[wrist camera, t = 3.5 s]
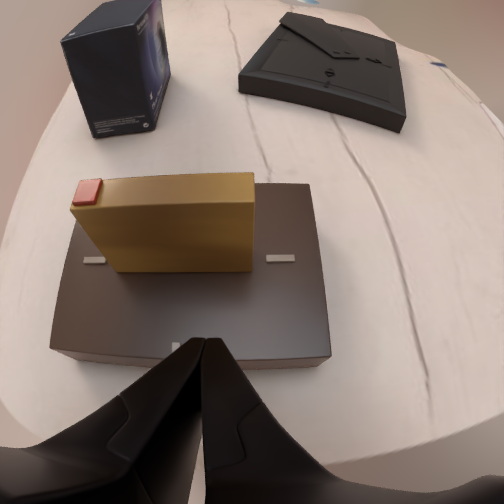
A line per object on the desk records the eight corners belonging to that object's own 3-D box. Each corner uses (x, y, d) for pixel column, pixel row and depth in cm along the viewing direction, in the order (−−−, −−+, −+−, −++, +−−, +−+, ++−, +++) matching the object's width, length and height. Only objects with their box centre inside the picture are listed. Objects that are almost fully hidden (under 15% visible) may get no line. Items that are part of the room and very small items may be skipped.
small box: (159, 131, 25) (136, 21, 16) (91, 141, 25) (54, 43, 15) (174, 73, 30) (163, -11, 21) (119, 81, 30) (99, 2, 20)
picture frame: (286, 27, 37) (238, 92, 28) (287, 11, 35) (238, 68, 25) (391, 53, 35) (399, 133, 26) (396, 38, 33) (409, 110, 23)
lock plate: (301, 205, 21) (308, 174, 18) (318, 377, 16) (334, 369, 13) (102, 210, 21) (86, 182, 18) (74, 369, 15) (45, 358, 13)
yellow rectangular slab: (251, 246, 16) (254, 167, 11) (252, 272, 15) (255, 197, 10) (120, 248, 16) (76, 177, 11) (115, 272, 15) (66, 206, 10)
